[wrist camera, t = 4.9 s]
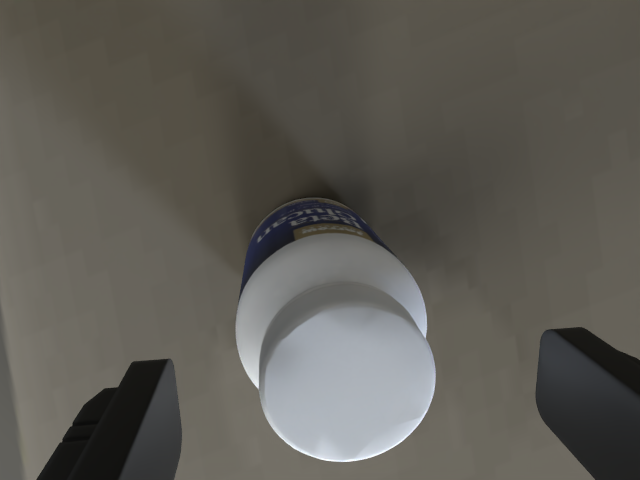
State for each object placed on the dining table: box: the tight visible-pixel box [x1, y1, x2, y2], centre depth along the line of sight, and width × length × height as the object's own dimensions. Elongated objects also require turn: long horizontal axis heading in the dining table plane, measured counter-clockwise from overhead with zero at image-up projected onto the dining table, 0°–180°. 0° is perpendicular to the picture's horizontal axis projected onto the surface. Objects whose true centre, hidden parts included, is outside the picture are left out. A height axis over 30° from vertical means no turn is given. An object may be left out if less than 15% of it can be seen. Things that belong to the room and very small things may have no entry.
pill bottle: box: [236, 198, 436, 462], centre depth 15 cm, size 5×5×10 cm
